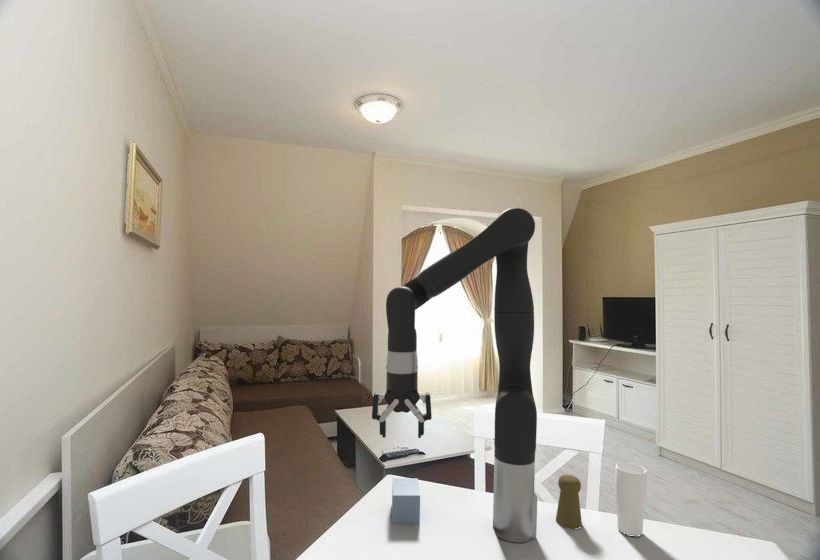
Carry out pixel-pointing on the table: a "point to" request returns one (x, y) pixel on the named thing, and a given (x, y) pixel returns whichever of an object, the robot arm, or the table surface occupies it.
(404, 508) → the blue-grey block
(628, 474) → the drinking glass
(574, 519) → the cork
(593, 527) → the table surface
